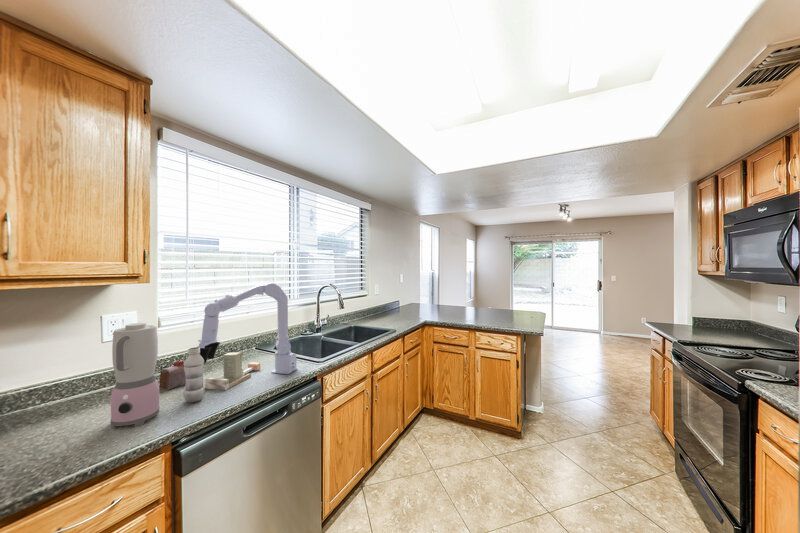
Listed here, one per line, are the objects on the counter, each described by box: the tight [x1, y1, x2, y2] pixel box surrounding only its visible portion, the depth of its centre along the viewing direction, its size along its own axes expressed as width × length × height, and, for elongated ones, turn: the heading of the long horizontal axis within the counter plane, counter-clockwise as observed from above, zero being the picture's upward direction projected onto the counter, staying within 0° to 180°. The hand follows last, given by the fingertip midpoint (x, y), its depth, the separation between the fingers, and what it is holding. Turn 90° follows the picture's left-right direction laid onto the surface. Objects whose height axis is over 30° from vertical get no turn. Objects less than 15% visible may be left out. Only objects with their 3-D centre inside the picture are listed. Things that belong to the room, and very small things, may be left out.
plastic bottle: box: [183, 346, 205, 404], centre depth 112 cm, size 6×7×20 cm
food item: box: [159, 360, 186, 391], centre depth 129 cm, size 14×8×10 cm, turn 162°
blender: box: [110, 322, 161, 430], centre depth 97 cm, size 16×12×32 cm
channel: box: [204, 372, 252, 391], centre depth 131 cm, size 10×15×4 cm, turn 168°
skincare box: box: [222, 351, 243, 383], centre depth 133 cm, size 6×4×12 cm
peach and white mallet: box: [242, 361, 261, 377], centre depth 142 cm, size 5×11×4 cm, turn 168°
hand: (206, 360), depth 130 cm, fingers open, 7 cm apart
